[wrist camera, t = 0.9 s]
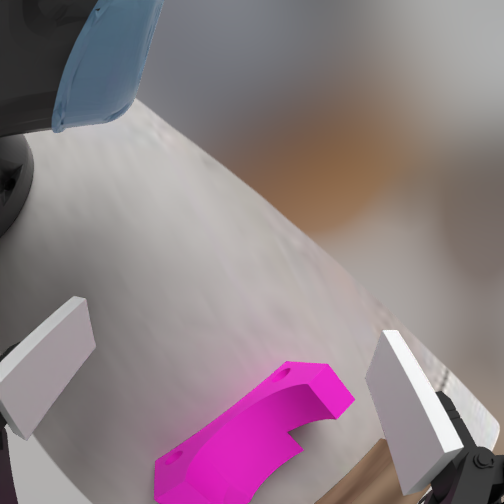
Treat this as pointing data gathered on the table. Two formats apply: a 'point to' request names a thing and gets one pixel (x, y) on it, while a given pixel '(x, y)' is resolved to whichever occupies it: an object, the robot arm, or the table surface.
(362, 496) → the base brick
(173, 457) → the toy block
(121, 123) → the table surface
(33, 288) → the table surface
